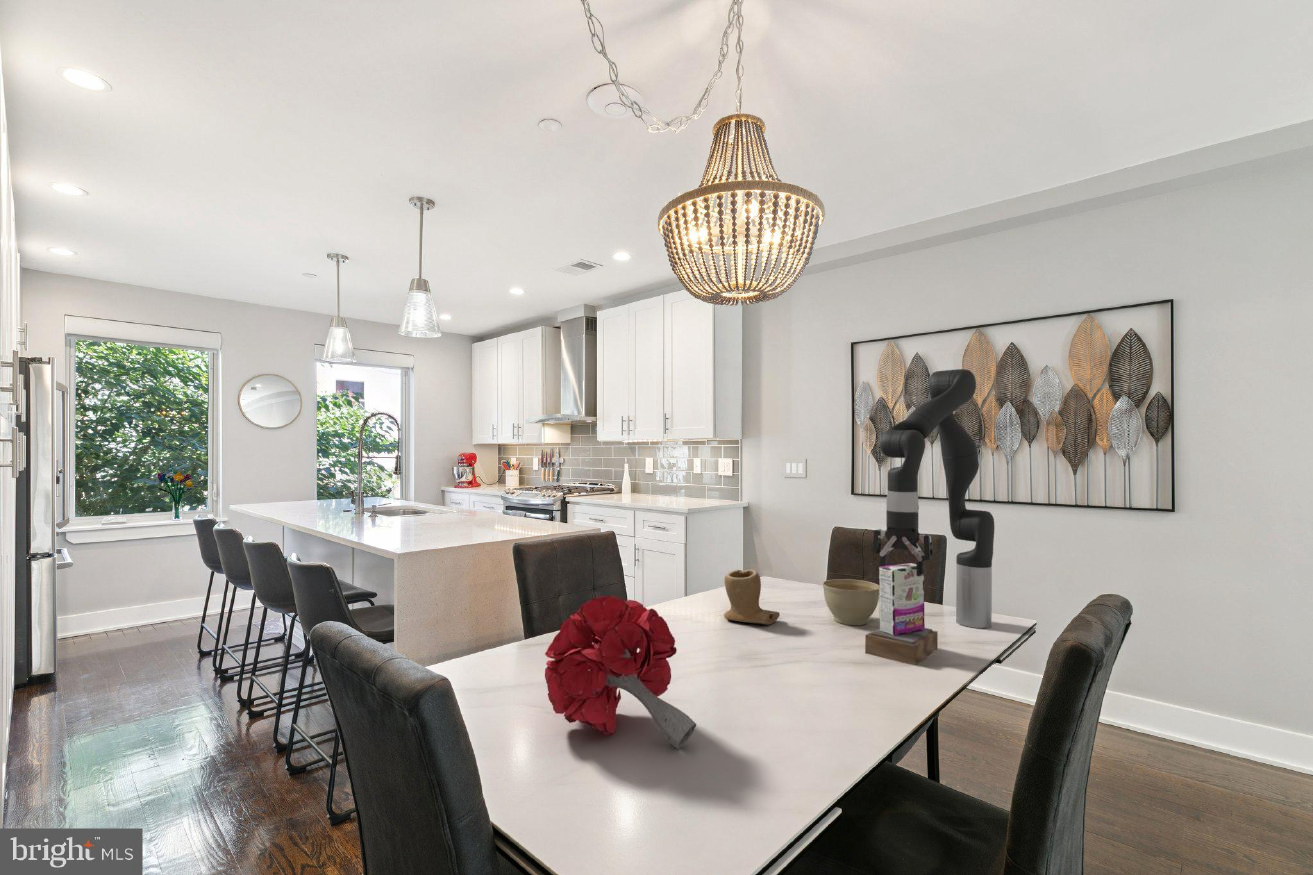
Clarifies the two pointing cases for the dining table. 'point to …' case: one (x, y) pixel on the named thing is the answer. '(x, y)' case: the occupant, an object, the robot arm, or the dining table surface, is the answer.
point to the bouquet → (614, 666)
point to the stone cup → (746, 598)
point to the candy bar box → (901, 599)
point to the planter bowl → (851, 600)
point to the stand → (902, 645)
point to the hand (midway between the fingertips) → (902, 573)
